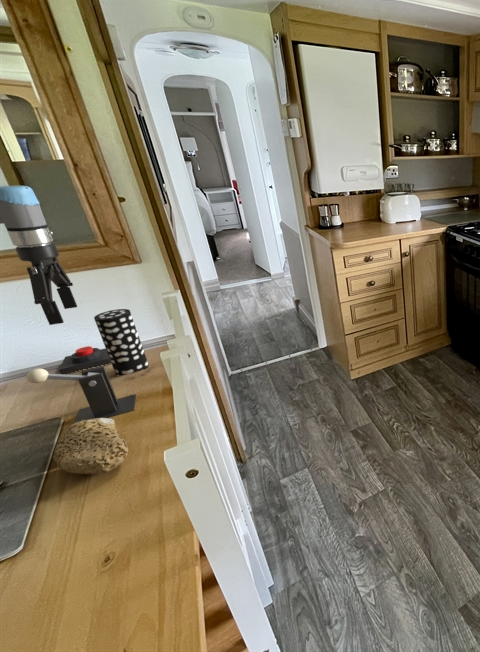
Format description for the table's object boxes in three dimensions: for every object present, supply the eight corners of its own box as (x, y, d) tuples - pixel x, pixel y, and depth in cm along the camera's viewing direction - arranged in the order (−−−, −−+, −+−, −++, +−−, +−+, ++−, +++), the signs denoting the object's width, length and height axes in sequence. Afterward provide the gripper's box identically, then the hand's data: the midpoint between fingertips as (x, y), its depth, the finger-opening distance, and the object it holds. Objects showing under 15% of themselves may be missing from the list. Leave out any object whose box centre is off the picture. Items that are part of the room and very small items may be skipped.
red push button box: (61, 375, 119) (56, 364, 118) (67, 362, 127) (63, 352, 125) (111, 364, 126) (107, 353, 125) (114, 352, 134) (110, 342, 132)
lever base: (74, 430, 96) (55, 388, 91) (80, 412, 103) (62, 372, 98) (135, 413, 103) (120, 373, 98) (137, 397, 109) (123, 358, 105)
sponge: (64, 451, 91) (38, 493, 75) (62, 420, 90) (35, 455, 74) (136, 438, 99) (126, 473, 83) (135, 409, 98) (124, 439, 82)
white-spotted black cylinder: (109, 374, 120) (87, 317, 113) (137, 361, 128) (118, 307, 120) (127, 379, 118) (105, 321, 111) (155, 366, 125) (136, 311, 118)
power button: (76, 358, 123) (74, 353, 122) (78, 353, 125) (76, 348, 125) (92, 354, 125) (91, 349, 124) (94, 349, 128) (92, 345, 127)
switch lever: (22, 385, 90) (26, 371, 89) (27, 378, 92) (30, 365, 92) (98, 388, 98) (102, 375, 98) (100, 382, 101) (103, 369, 101)
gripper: (37, 252, 95) (69, 328, 103) (67, 235, 115) (92, 299, 122) (-7, 256, 91) (30, 334, 99) (32, 237, 111) (60, 304, 119)
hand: (64, 315), depth 111 cm, fingers open, 13 cm apart
